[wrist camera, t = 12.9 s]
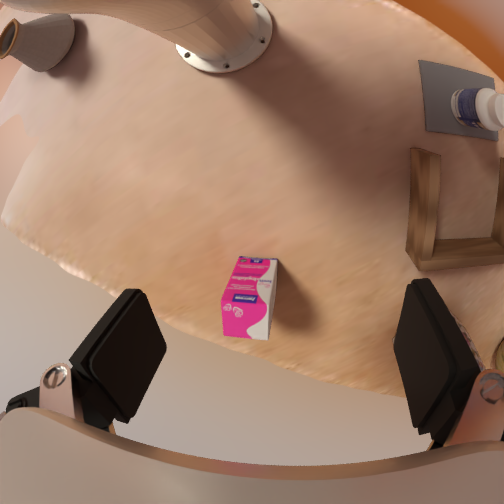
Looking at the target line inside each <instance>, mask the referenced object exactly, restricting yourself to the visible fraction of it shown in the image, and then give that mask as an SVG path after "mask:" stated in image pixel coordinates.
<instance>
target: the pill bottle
mask: <svg viewBox="0 0 504 504" xmlns="http://www.w3.org/2000/svg"><path fill="white" fill-rule="evenodd" d="M451 108H452V112H453V114H454V116H455V118H456V119H457V120H458V121H459V122H460V123H461V124H463V125H465V126H469V127H475V128H480V129H486V130H491V131H499V130H501V129H502V128H503V127H504V94H499V93H497V92H496V91H495V90H493V89H490V88H475V89H460V90H457V91H455V92H454V94H453V95H452V98H451Z"/></svg>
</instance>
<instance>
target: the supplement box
mask: <svg viewBox="0 0 504 504" xmlns="http://www.w3.org/2000/svg"><path fill="white" fill-rule="evenodd" d="M277 266H278V259H269V258H268V259H267V258H252V257H242V256H240V257H239V259H238V261H237V263H236V266H235V268H234V270H233V273H232V275H231V277H230V280H229V282H228V284H227V287H226V289H225V291H224V294H223V296H222V299H221V309H222V322H223V334H224V336H231V337H240V338H249V339H258V340H269V335H270V329H271V322H272V316H273V309H274V303H275V296H276V287H277Z"/></svg>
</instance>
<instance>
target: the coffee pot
mask: <svg viewBox="0 0 504 504" xmlns="http://www.w3.org/2000/svg"><path fill="white" fill-rule="evenodd" d="M74 34H75V27H74V21H73V19H72V18H71V16H70V15H69V14H52V15H48V16H45V17H42V18H39V19H36V20H33V21H30V22H27V23H24V24H20V23H19V22H18V21H17V20H16V19H15V18H14V19H12V20H11V21H10V22H9V23H8V24H7V26H6V27H5V28H4V30H3V31H2V33H1V35H0V59H3V58H5V57H6V56H8V55H11V56H13V57H15V58H16V59H18V60H19V61H21V62H22V63H24V64H25V65H27V66H28V67H30V68H32V69H33V70H35V71H38V72H44V71H47V70H49V69H51V68H53V67H54V66H56V65H57V64H58V63H59V62H60V61H61V60H62V59H63V57H64V56H65V55H66V54H67V53H68V51H69V49H70V48H71V45H72V43H73V40H74Z"/></svg>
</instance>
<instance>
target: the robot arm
mask: <svg viewBox="0 0 504 504" xmlns="http://www.w3.org/2000/svg"><path fill="white" fill-rule="evenodd" d="M0 3H2V4H4V5H6V6H8V7H11V8H13V9H17V10H21V11H26V12H34V13H45V14H101V15H107V16H111V17H114V18H118V19H121V20H124V21H127V22H129V23H132V24H134V25H136V26H139V27H141V28H144V29H146V30H148V31H150V32H152V33H154V34H157V35H159V36H161V37H163V38H165V39H167V40H169V41H171V42H173V43H175V45H176V49H177V51H178V53H179V55H180V56H181V57H182V58H183V60H184V61H185V62H187V63H188V64H189V65H191V66H193V67H195V68H197V69H199V70H202V71H205V72H210V73H227V72H232V71H236V70H239V69H242V68H244V67H246V66H248V65H250V64H251V63H252V62H254V61H255V60H257V59H258V58H259V57H260V56H261V55H262V54H263V53H264V51H265V50H266V48H267V47H268V45H269V43H270V40H271V37H272V32H273V26H272V20H271V16H270V14H269V12H268V10H267V9H266V7H265V6H264V5H263V4H262V3H261V2H260V1H259V0H0ZM255 7H258V8H255ZM261 41H265V42H264V43H261ZM189 55H190V57H189V58H188V56H189ZM227 65H229V68H226V66H227ZM166 348H167V347H166V342H165V340H164V338H163V336H162V333H161V331H160V329H159V326H158V324H157V321H156V319H155V317H154V314H153V312H152V309H151V307H150V304H149V301H148V299H147V296H146V294H145V293H143V292H142V291H141V290H140V289H125V290H124V291H123V292H122V294H121V295H120V296H119V297H118V298H117V299H116V301H115V302H114V303H113V304H112V305H111V307H110V308H109V309H108V310H107V312H106V313H105V314H104V315H103V317H102V318H101V319H100V320H99V321H98V323H97V324H96V325H95V326H94V328H93V329H92V330H91V332H90V333H89V334H88V335H87V337H86V338H85V339H84V341H83V342H82V343H81V344H80V346H79V347H78V348H77V350H76V351H75V352H74V354H73V355H72V356H71V358H70V359H69V361H70V362H71V364H72V365H73V367H72V368H71V369H70V368H69V366H68V365H67V364H64V363H57V364H54V365H52V366H51V367H49V368H48V369H47V370H46V371H45V372H44V373H43V375H42V377H41V380H40V386H39V387H37V388H35V389H32V390H30V391H27V392H25V393H22V394H20V395H17V396H16V397H14V398H12V399H11V400H10V401H9V402H8V405H7V408H6V412H3V413H1V414H0V504H504V373H503V372H502V371H500V370H497V369H486V370H484V371H482V372H481V370H480V367H479V365H478V363H477V361H476V359H475V357H474V355H473V353H472V351H471V349H470V347H469V345H468V343H467V341H466V339H465V337H464V335H463V334H462V332H461V330H460V328H459V326H458V324H457V323H456V321H455V319H454V317H453V316H452V315H451V313H450V311H449V310H448V308H447V306H446V305H445V303H444V301H443V300H442V298H441V296H440V295H439V293H438V292H437V290H436V288H435V287H434V285H433V284H432V282H431V281H430V279H429V278H423V279H414V280H412V282H411V284H408V285H407V288H406V292H405V297H404V302H403V307H402V311H401V316H400V320H399V324H398V328H397V332H396V336H395V340H394V352H395V356H396V359H397V363H398V366H399V370H400V373H401V377H402V381H403V385H404V389H405V393H406V397H407V401H408V406H409V410H410V415H411V419H412V424H413V427H414V428H418V433H419V435H422V434H426V433H430V434H431V439H432V442H431V443H430V445H429V447H428V449H427V450H426V451H424V452H420V453H415V454H411V455H406V456H400V457H395V458H389V459H383V460H375V461H368V462H360V463H351V464H339V465H322V466H276V465H258V464H247V463H237V462H229V461H221V460H215V459H208V458H203V457H197V456H192V455H187V454H182V453H177V452H173V451H169V450H165V449H161V448H157V447H153V446H150V445H146V444H143V443H139V442H136V441H133V440H130V439H127V438H124V437H120V436H118V435H116V433H115V429H114V426H113V422H112V421H113V419H114V418H115V419H116V420H117V421H120V422H123V423H126V424H128V423H129V420H130V418H132V417H134V416H135V414H136V412H137V409H138V408H139V406H140V403H141V401H142V399H143V397H144V395H145V393H146V391H147V389H148V387H149V385H150V383H151V381H152V379H153V377H154V374H155V373H156V371H157V369H158V367H159V365H160V363H161V361H162V359H163V357H164V355H165V353H166Z"/></svg>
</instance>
